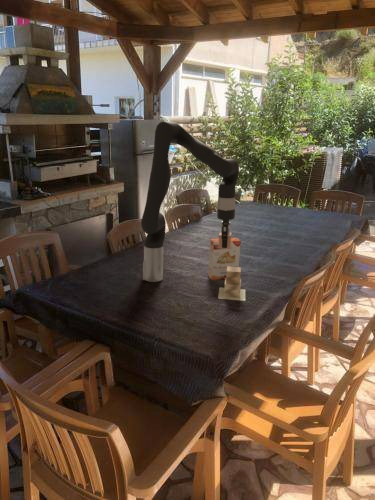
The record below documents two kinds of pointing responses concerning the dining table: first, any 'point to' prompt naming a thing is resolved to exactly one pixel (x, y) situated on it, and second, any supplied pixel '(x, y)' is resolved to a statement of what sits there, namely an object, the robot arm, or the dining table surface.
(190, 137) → the robot arm
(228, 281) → the oak top block
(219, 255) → the cracker box
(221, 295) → the beige flat square slab
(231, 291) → the birch base block
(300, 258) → the dining table surface
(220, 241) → the terracotta block
